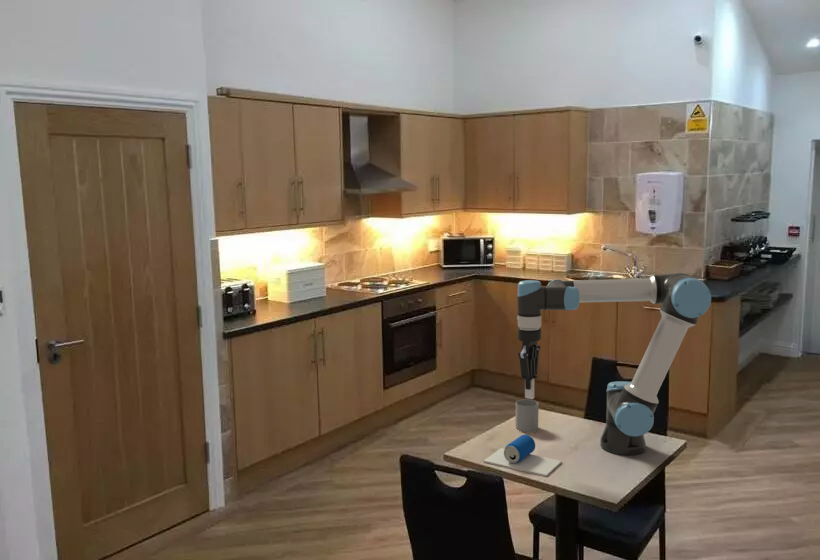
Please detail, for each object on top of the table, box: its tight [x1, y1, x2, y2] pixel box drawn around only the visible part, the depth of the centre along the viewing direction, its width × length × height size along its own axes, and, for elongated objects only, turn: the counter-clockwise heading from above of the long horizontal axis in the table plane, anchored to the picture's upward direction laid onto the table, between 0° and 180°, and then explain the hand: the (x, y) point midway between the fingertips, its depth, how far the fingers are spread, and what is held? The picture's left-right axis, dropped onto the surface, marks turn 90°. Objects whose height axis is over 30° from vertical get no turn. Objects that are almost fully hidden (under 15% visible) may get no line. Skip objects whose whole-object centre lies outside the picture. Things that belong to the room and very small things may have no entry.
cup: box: [514, 398, 540, 433], centre depth 267 cm, size 8×8×10 cm
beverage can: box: [504, 434, 536, 463], centre depth 238 cm, size 6×6×12 cm
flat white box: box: [483, 447, 563, 477], centre depth 236 cm, size 22×13×1 cm, turn 57°
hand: (529, 397), depth 236 cm, fingers closed
